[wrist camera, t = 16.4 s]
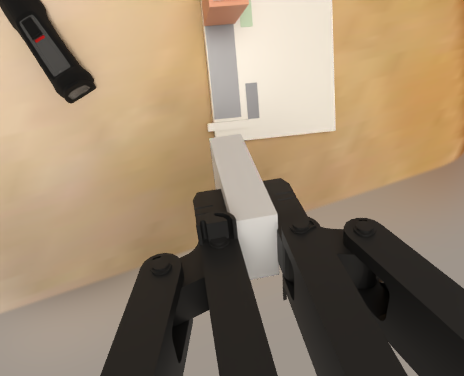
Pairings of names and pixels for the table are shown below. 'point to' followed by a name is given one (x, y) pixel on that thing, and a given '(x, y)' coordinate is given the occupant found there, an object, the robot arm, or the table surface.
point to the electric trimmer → (48, 48)
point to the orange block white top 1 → (222, 11)
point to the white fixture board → (272, 70)
